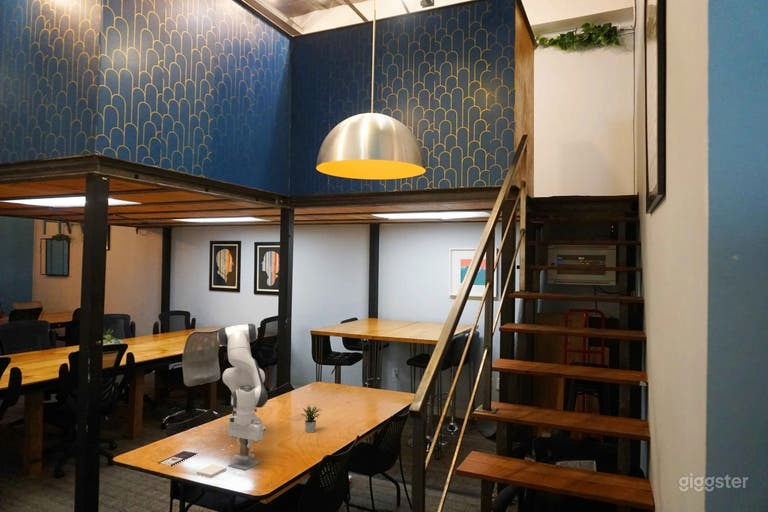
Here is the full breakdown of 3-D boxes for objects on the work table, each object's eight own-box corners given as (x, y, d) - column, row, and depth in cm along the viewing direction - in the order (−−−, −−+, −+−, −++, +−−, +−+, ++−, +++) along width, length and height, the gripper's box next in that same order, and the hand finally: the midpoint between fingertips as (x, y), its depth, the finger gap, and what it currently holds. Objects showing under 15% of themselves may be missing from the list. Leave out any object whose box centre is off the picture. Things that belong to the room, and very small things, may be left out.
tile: (212, 464, 240) (196, 471, 231) (226, 467, 236) (210, 474, 227) (212, 468, 240) (196, 475, 231) (226, 471, 236) (210, 479, 227)
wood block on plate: (242, 453, 248) (243, 427, 249) (254, 456, 245) (255, 430, 246) (233, 457, 243) (234, 430, 244) (246, 459, 240) (247, 433, 240)
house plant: (317, 436, 289) (317, 408, 290) (295, 434, 292) (296, 407, 293) (325, 429, 303) (325, 402, 304) (303, 427, 306) (304, 401, 307)
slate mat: (243, 459, 251) (243, 458, 251) (260, 463, 247) (260, 462, 247) (228, 466, 241) (228, 465, 242) (245, 470, 237) (245, 469, 237)
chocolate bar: (197, 453, 258) (171, 465, 241) (197, 455, 257) (171, 467, 241) (183, 450, 261) (157, 462, 244) (183, 452, 261) (157, 464, 244)
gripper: (266, 420, 243) (265, 448, 243) (234, 414, 252) (234, 442, 252) (257, 423, 238) (256, 452, 237) (225, 417, 247) (225, 445, 246)
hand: (244, 447), depth 244 cm, fingers closed on wood block on plate, 3 cm apart
